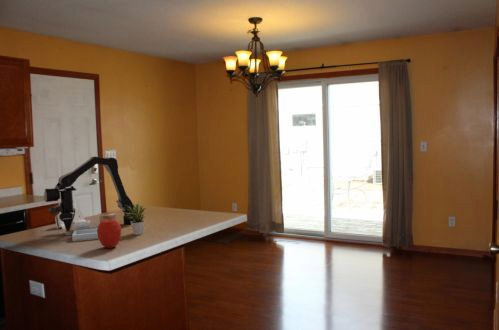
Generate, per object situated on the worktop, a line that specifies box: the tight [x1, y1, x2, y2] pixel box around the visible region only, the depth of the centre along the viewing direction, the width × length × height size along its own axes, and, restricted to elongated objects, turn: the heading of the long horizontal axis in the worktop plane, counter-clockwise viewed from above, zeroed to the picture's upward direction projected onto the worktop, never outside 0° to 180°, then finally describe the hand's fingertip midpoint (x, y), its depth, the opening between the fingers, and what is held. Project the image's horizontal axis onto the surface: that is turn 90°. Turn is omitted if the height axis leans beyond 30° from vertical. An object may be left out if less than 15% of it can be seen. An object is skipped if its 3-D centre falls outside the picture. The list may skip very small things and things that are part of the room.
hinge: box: [54, 209, 87, 230], centre depth 236 cm, size 17×5×10 cm, turn 150°
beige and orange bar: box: [64, 219, 91, 232], centre depth 217 cm, size 12×4×4 cm, turn 108°
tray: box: [71, 228, 99, 242], centre depth 207 cm, size 17×11×3 cm, turn 109°
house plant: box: [126, 202, 147, 236], centre depth 212 cm, size 14×14×16 cm
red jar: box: [97, 219, 122, 249], centre depth 185 cm, size 10×10×14 cm
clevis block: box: [64, 212, 117, 236], centre depth 219 cm, size 25×8×8 cm, turn 109°
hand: (68, 229), depth 216 cm, fingers open, 9 cm apart
